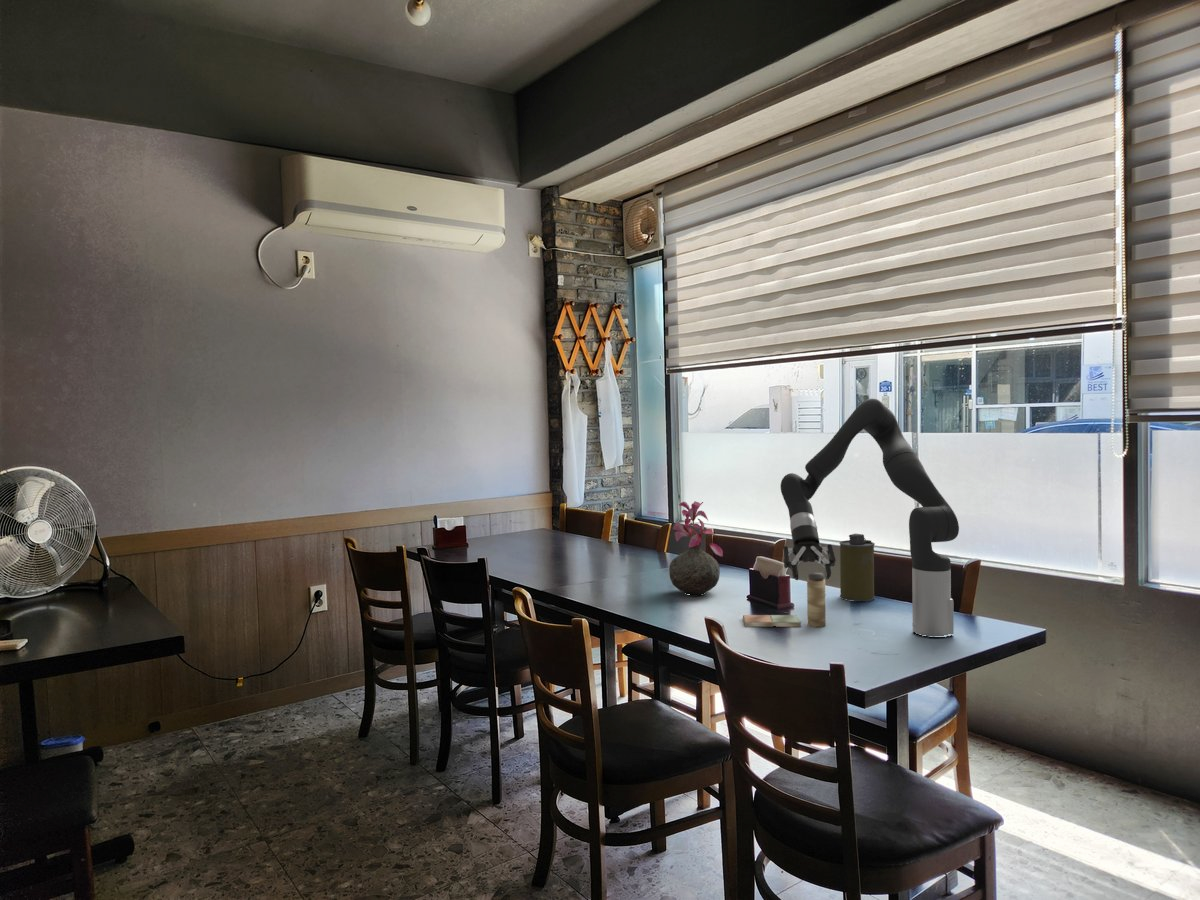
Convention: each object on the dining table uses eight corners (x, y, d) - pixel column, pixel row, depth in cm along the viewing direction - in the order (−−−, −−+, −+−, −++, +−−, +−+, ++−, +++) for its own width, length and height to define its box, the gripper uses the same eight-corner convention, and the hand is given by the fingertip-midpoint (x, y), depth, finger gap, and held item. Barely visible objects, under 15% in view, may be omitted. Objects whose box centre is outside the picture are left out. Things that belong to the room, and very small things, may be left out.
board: (796, 619, 223) (796, 614, 223) (800, 626, 215) (800, 622, 215) (742, 618, 224) (742, 614, 224) (745, 626, 216) (745, 622, 216)
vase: (671, 587, 266) (670, 499, 265) (724, 588, 263) (722, 499, 262) (667, 599, 250) (665, 505, 248) (723, 600, 247) (721, 505, 245)
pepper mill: (823, 622, 219) (823, 571, 218) (827, 627, 214) (826, 575, 213) (806, 622, 219) (805, 571, 218) (809, 627, 214) (808, 575, 214)
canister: (860, 603, 239) (859, 538, 238) (832, 597, 248) (832, 534, 247) (882, 598, 245) (882, 534, 244) (855, 592, 254) (855, 530, 253)
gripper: (827, 537, 235) (836, 584, 224) (779, 539, 237) (785, 586, 226) (830, 522, 230) (839, 569, 219) (780, 524, 231) (787, 571, 220)
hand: (812, 578), depth 222 cm, fingers open, 8 cm apart
